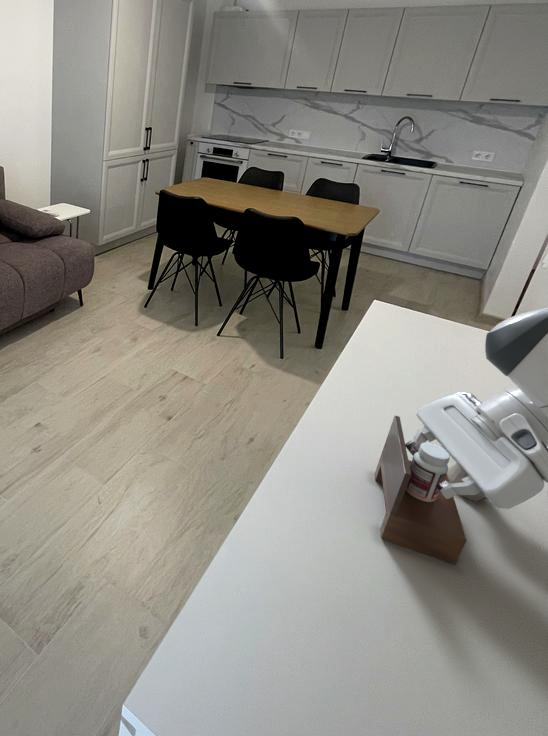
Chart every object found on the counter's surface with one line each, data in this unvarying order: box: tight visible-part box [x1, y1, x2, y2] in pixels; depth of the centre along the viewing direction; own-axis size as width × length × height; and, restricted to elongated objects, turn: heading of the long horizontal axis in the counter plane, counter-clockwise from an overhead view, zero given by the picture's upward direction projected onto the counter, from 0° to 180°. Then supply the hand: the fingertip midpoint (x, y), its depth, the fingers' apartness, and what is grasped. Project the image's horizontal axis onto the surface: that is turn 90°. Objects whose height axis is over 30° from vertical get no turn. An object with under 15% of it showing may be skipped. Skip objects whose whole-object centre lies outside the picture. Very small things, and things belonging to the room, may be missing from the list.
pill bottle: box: [406, 441, 451, 502], centre depth 79 cm, size 5×5×8 cm
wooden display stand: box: [374, 415, 468, 566], centre depth 80 cm, size 10×16×13 cm, turn 155°
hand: (423, 470), depth 79 cm, fingers open, 8 cm apart
